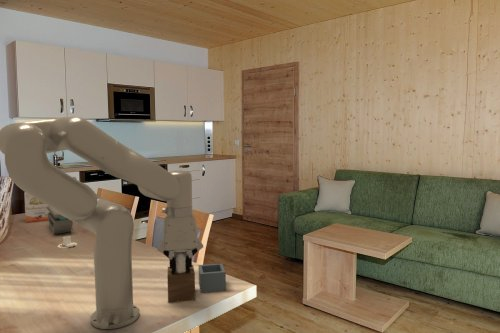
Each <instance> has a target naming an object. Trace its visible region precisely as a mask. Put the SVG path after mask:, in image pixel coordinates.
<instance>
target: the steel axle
mask: <svg viewBox="0 0 500 333" xmlns="http://www.w3.org/2000/svg"><path fill="white" fill-rule="evenodd" d="M187 255H188V251H187V250H176V251H174V252H173V256H174V274H186V273H188V272H187Z"/></svg>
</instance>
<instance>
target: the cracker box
mask: <svg viewBox="0 0 500 333" xmlns="http://www.w3.org/2000/svg"><path fill="white" fill-rule="evenodd" d="M23 192H24V193H23V194H24V196H23V198H24V213H25V214H24V215H25V223H34V222H35V223H36V222H46V221H49V220H48V213H50V212H49V210H48V209H47V206H48V205H46V204H44V203H43V202H41V201H39V200H38V199H36V198H34V197H33V196H31V195H29V194H28V193H26V192H25V191H23Z"/></svg>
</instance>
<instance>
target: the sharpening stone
mask: <svg viewBox="0 0 500 333" xmlns="http://www.w3.org/2000/svg"><path fill="white" fill-rule="evenodd" d="M47 209H48V210H49V212H50V213H48V220H47V221H48V224H49V226H48V227H49V229H50V232H51V233H52V234H53V235H58V234H64V233H71V232H72V228H73V224H74V222H73V221H71V220H69V219H67V218H65V217H64V216H62V215H60V214H58V213H56V212H55V211H53V210H52V209H51V208H50V207H49V206H47Z"/></svg>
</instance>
